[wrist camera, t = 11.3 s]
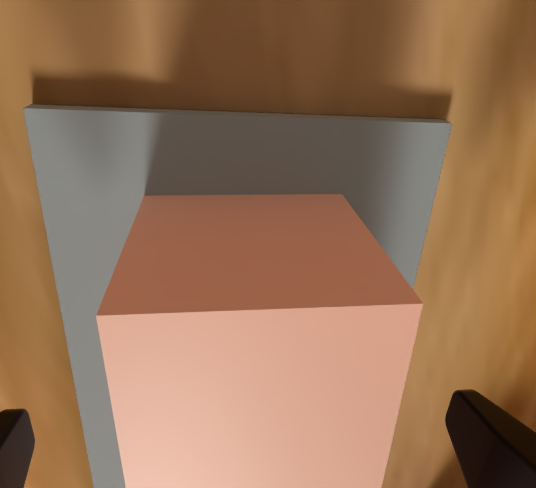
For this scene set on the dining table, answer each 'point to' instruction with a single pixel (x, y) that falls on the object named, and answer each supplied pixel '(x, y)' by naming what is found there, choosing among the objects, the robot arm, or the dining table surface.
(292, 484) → the block
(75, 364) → the slate mat
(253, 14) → the dining table surface
